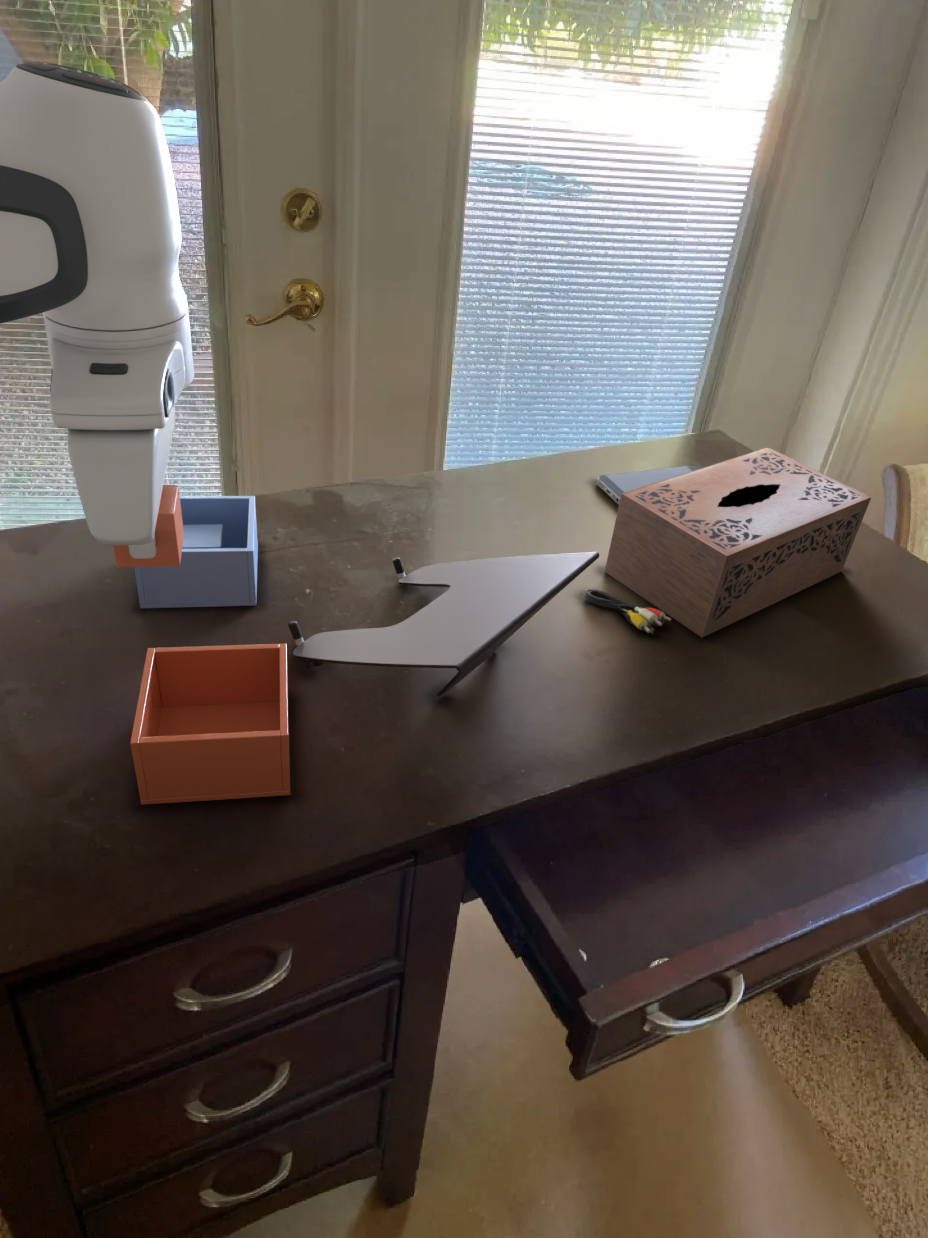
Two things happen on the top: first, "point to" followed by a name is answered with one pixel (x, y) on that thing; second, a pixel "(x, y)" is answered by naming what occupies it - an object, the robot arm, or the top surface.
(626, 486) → the phone
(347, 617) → the top surface
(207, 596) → the slate bin
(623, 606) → the composite cable
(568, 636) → the top surface
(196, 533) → the slate block
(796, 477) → the tissue box cover
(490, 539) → the top surface
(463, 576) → the laptop stand
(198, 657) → the terracotta bin
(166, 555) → the terracotta block
